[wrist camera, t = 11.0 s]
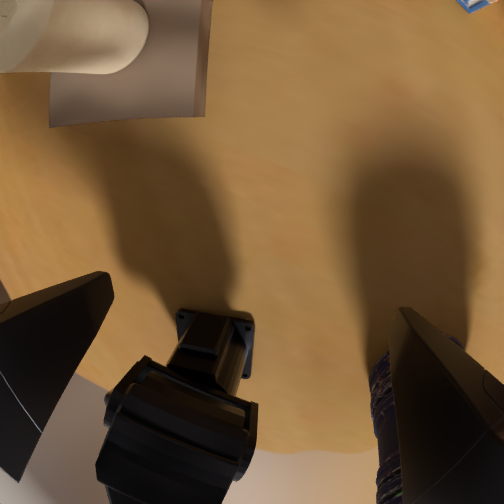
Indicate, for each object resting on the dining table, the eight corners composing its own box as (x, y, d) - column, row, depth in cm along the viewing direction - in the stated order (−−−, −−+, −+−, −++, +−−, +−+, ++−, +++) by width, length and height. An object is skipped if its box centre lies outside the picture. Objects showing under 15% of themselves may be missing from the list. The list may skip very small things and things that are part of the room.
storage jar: (461, 390, 24) (494, 513, 11) (373, 415, 27) (378, 546, 14) (468, 317, 21) (535, 468, 7) (360, 349, 24) (371, 524, 10)
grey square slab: (204, 116, 18) (193, 117, 17) (66, 125, 20) (49, 128, 18) (217, -42, 13) (208, -54, 11) (77, -8, 15) (62, -13, 13)
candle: (106, 91, 17) (-21, 99, 8) (72, 43, 15) (-43, 37, 6) (166, 31, 14) (49, -13, 6) (125, -13, 13) (17, -56, 4)
